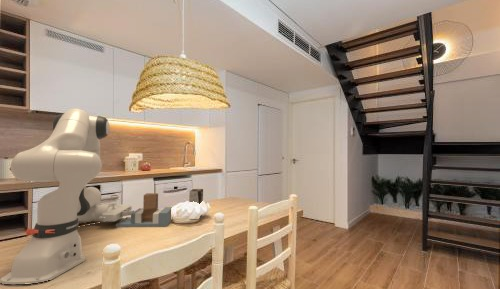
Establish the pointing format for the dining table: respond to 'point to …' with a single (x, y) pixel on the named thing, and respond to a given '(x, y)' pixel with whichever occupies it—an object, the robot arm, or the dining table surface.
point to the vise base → (159, 220)
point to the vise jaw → (137, 216)
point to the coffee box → (196, 195)
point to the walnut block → (150, 206)
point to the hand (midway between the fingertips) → (133, 212)
